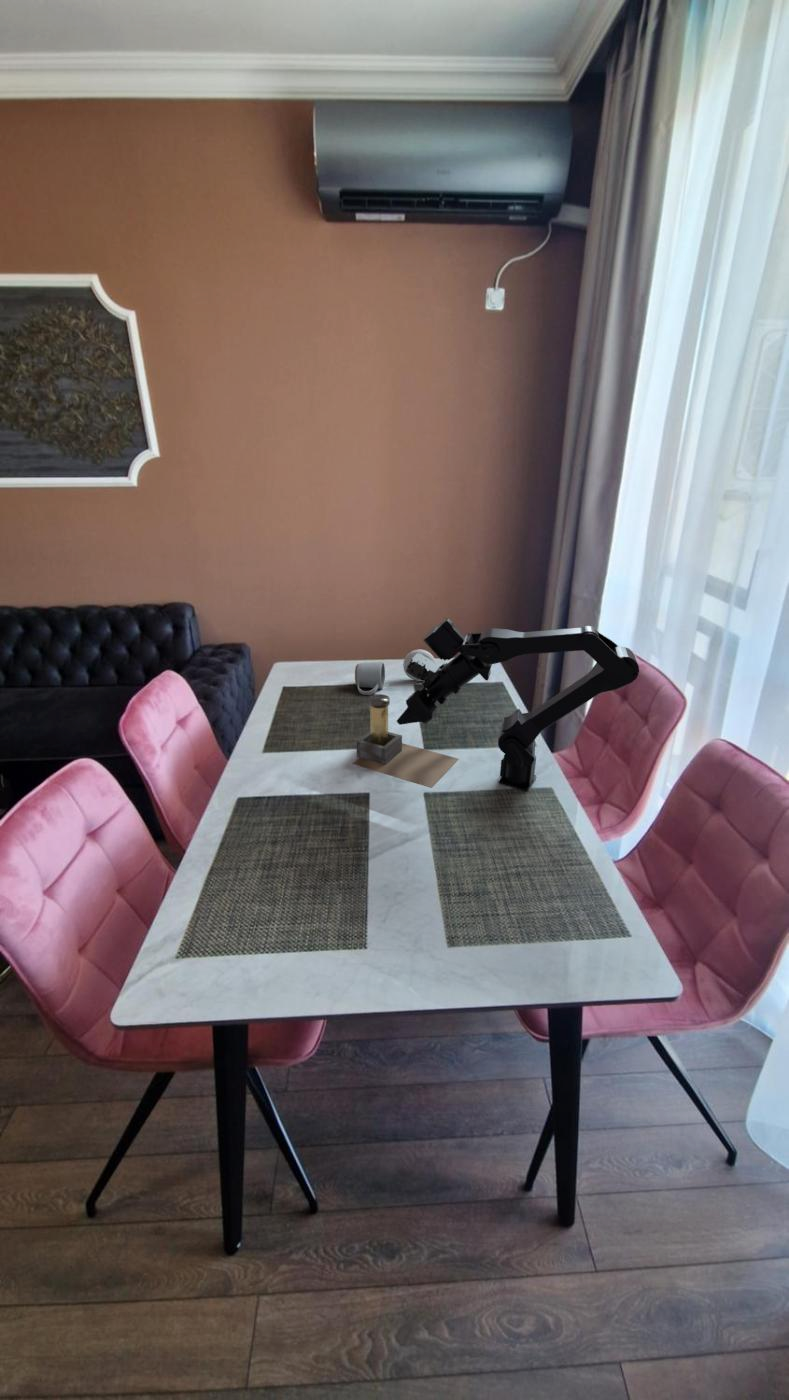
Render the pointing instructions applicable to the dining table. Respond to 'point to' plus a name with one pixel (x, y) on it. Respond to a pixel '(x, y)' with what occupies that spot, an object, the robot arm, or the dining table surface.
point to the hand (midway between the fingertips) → (405, 714)
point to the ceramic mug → (370, 676)
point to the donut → (411, 655)
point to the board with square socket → (403, 760)
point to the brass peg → (379, 718)
